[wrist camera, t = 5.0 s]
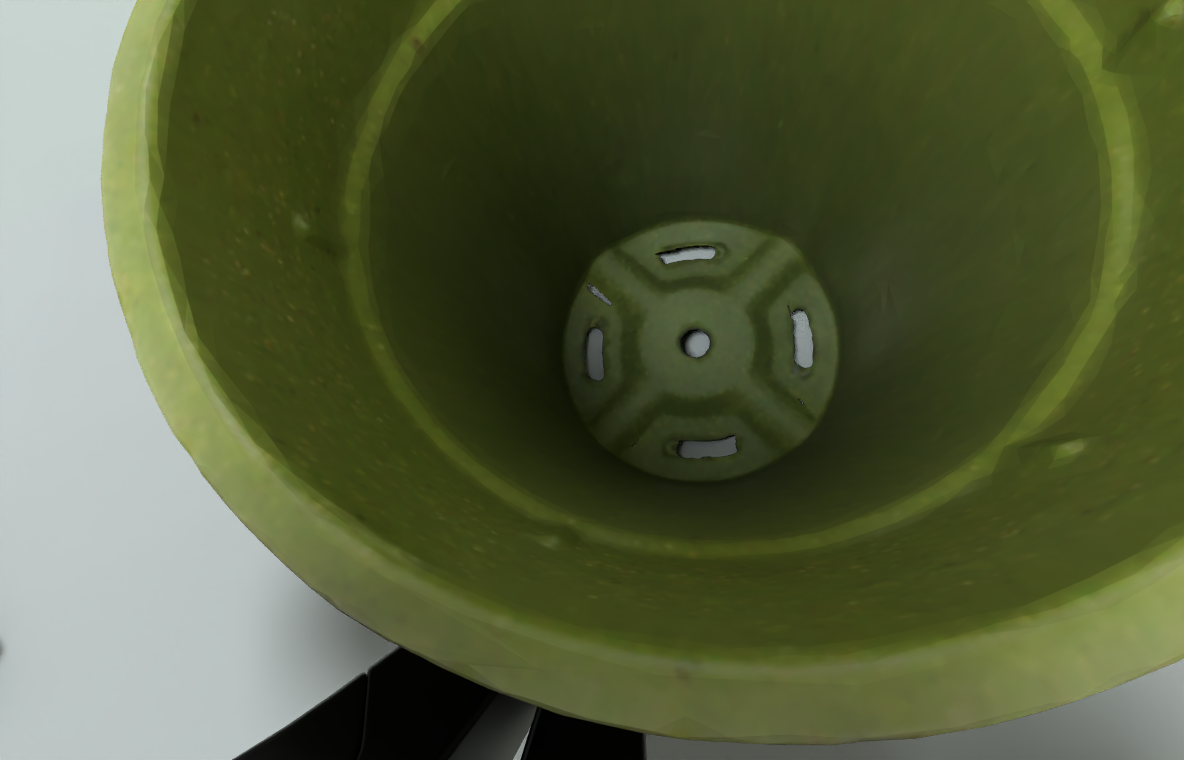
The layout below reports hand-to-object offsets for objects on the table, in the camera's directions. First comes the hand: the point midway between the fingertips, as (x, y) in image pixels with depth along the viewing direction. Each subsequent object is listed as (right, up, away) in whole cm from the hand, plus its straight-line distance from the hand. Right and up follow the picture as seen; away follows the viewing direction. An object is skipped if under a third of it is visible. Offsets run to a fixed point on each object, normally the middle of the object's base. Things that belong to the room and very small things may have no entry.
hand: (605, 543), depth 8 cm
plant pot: (+2, +3, +8) cm, 9 cm away
